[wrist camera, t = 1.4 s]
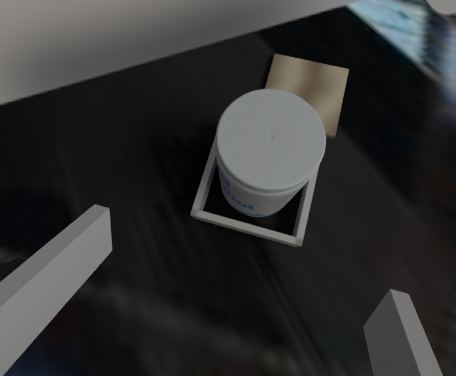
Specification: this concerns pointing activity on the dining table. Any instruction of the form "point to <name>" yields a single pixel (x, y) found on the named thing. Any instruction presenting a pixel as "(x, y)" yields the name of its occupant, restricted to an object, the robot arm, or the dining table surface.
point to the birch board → (311, 86)
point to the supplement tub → (267, 150)
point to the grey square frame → (248, 228)
